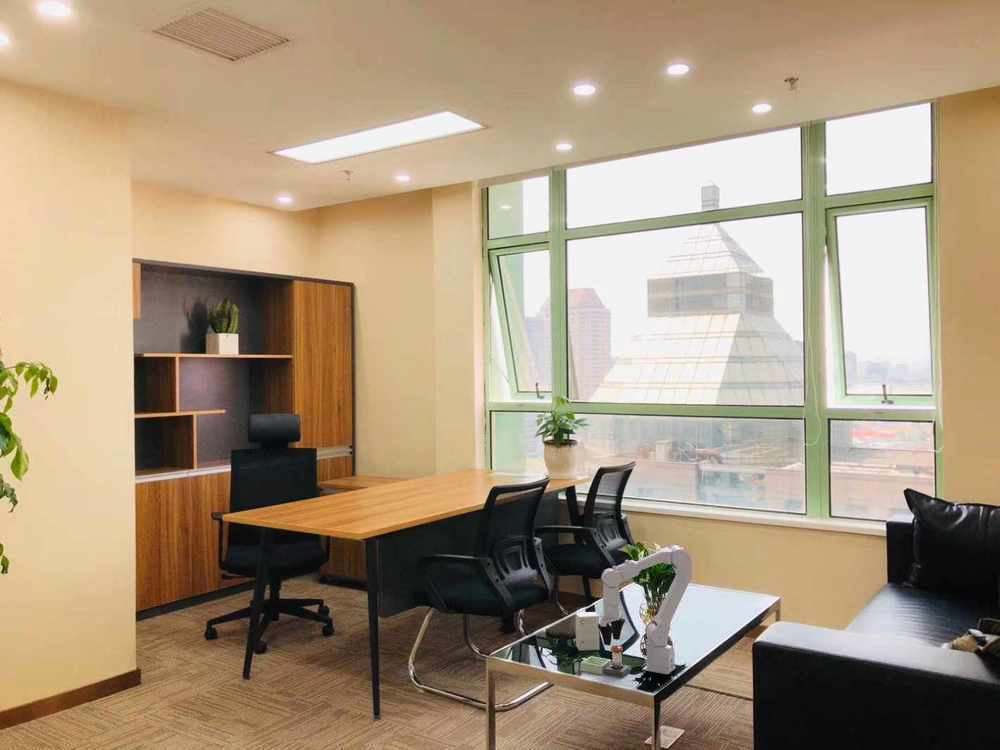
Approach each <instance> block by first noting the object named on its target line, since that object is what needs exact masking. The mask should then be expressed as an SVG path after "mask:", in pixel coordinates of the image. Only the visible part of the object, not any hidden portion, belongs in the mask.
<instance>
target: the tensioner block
mask: <svg viewBox="0 0 1000 750" xmlns="http://www.w3.org/2000/svg"><path fill="white" fill-rule="evenodd" d="M629 673H631V665H625V664H622V669H621V670H618V669H613V663H612V662H611V664H610V665H608V666H607V667H605V668H604V673H603V675H606V676H612V677H615V678H616V677H617V678H624V677H626V676H627V675H628V674H629Z"/></svg>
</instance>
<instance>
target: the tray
mask: <svg viewBox="0 0 1000 750" xmlns="http://www.w3.org/2000/svg"><path fill="white" fill-rule="evenodd" d="M611 663H612V659H609V658H603V657H597V656H593V655H592V656H589V657H588V658H586V659H584V660H583V661H581V662H580V666H581V667H580V671H581V672H587V673H592V674H597V675H604V668H605V667H607V666H608V665H610V664H611Z"/></svg>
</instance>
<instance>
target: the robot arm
mask: <svg viewBox="0 0 1000 750" xmlns="http://www.w3.org/2000/svg"><path fill="white" fill-rule="evenodd" d="M692 561H693V560H692V558H691V556H690V554H689V552H688V551H687V550H685V549H683V548H682V547H681V546H679V545H676V544H672V545H669V546H666V547H663V548H661V549H659V550H658V551H655V552H653V553H651V554H649V555H647V556H645V557H643V558H641V559H639V560H636V561H635V560H633V559H630V560H629V559H625V560H624V562H623V563H621V564H619V565H617V566H616V565H613V566H612V568H609V567H608V568H606V569H604V570H603V571H602V574H601V576H600V578H601V580H602V582H603V590H602V598H603V599H602V600H603V601H602V603H603V604H602V607H603V612H602V613H603V614H600V618H601V619H599V624H598V628H599V633H600V634H601V637H602V640H603V641H602V642H603V644H604V646H609V647H611V644H612V638H613V640H615V641H619V640H620V638H621V635H622V629H623V628H624V627H623V626H624V625H625V623H626V619H625V618H623V611H620V610H621V609H620V606H621V605H620V589H619V588H620V585H621V583H623V582H626V581H628V580H631V579H632V578H635V577H637V576H639V575H640V572H641V571H642V570H645V569H648V568H650V567H653V566H656V565H658V564H660V563H662V564H666V565H671V566H672V568H673V571H674V572H675V576H674V578H673V581H672V582H671V584H670V587H669V588H668V591H667V592H666V595H665V597H664V599H663V601H662V604H661V606H660V607H659V610H658V611H657V614H655V615H654V616H653V617H652V619H651V621H650V622H648V623H647V624H646V626H645V628H644V632H645V635H646V637H647V640H646V641H645V642H646V665H645V666H644V667H643V668H642V671H647V672H651V673H652V672H653V673H657V674H665V675H670V674H671V673H672V672H673V671H675V669H676V663H675V657H676V655H675V647H674V646H673V645H670V644H668V641H669V632H670V630H671V622H672V620H673V617H674V615H675V614H676V611H677V609H678V607H679V605H680V602H682V601H681V600H682V598H683V596H684V594H685V593H686V590H687V588H688V585H689V584H690V582H691V580H692V577H693V573H692Z"/></svg>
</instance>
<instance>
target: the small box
mask: <svg viewBox="0 0 1000 750" xmlns="http://www.w3.org/2000/svg"><path fill="white" fill-rule="evenodd" d="M598 624H600V616H599V615H598V613H597V612H596V611H589V612H588V611H584V612H582V611H581V612H575V646H576V648H577V649H578V651H599V650H600V630H599V628H598Z"/></svg>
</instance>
